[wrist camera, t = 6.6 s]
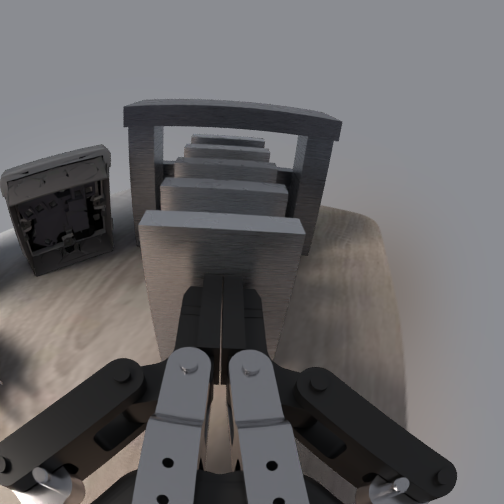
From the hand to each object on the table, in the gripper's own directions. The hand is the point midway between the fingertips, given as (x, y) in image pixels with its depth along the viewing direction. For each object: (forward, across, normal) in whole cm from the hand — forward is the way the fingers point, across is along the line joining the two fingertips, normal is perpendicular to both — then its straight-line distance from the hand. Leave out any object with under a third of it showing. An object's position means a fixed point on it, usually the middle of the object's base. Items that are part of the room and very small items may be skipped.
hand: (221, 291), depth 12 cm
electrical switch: (+10, +13, +6) cm, 17 cm away
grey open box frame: (+13, 0, +6) cm, 14 cm away
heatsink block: (+8, 0, +6) cm, 10 cm away
